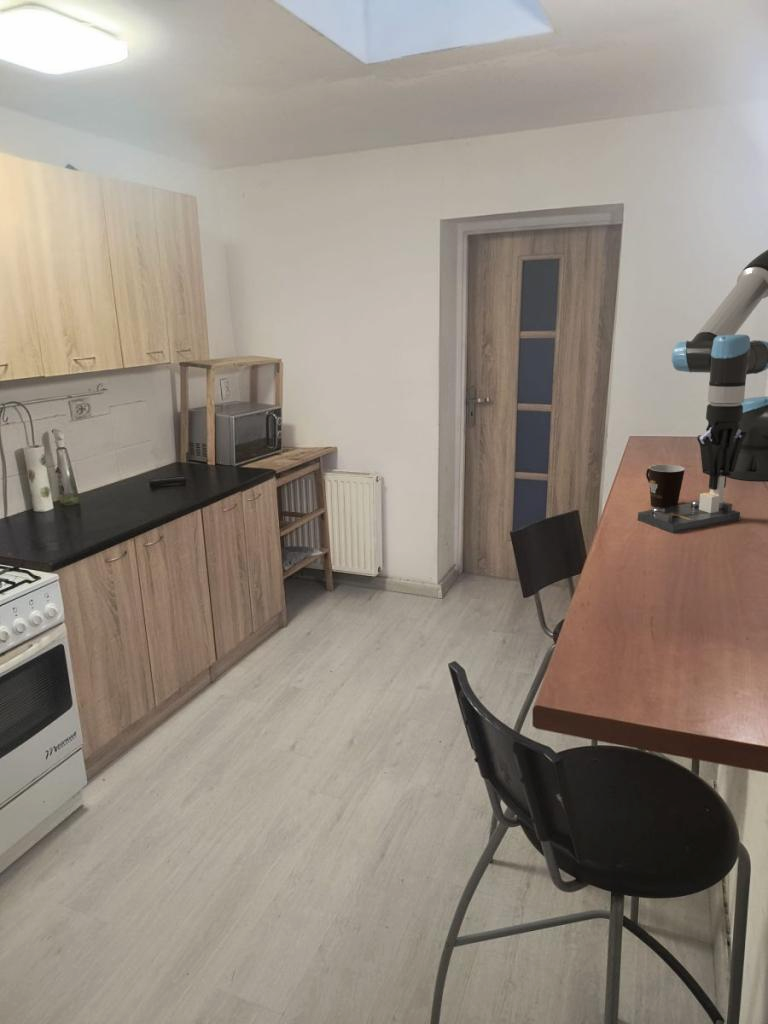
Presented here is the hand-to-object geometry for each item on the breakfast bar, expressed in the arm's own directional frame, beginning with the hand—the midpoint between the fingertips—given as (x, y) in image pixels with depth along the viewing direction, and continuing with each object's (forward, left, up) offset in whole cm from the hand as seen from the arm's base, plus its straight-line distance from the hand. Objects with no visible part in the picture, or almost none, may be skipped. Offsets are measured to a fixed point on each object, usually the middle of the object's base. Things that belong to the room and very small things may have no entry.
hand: (715, 501), depth 161 cm
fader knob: (+2, 0, -2) cm, 3 cm away
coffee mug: (+2, -15, -4) cm, 16 cm away
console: (+7, -2, -4) cm, 8 cm away
